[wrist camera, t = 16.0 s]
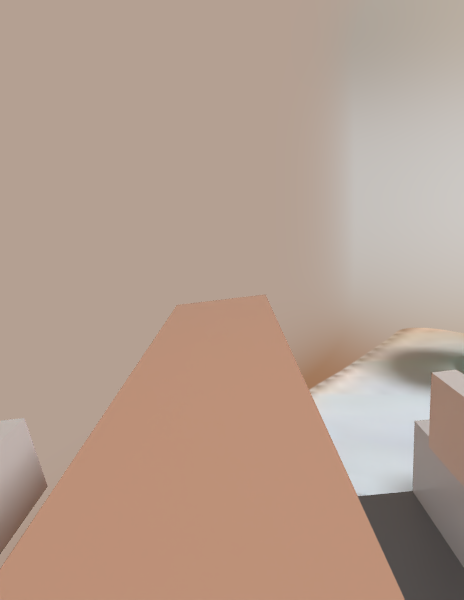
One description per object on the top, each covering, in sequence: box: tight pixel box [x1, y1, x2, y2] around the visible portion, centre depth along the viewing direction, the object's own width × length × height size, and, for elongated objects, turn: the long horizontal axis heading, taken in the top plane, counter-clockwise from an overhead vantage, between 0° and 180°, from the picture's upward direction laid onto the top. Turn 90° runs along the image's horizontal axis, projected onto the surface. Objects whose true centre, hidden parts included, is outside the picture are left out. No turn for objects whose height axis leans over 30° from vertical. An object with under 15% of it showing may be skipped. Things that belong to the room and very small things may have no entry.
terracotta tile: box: [0, 295, 405, 600], centre depth 10 cm, size 4×12×14 cm, turn 0°
